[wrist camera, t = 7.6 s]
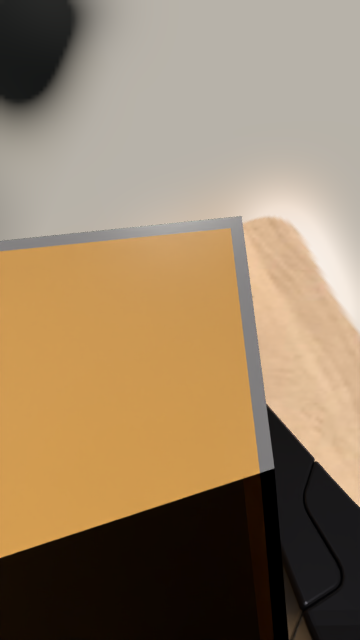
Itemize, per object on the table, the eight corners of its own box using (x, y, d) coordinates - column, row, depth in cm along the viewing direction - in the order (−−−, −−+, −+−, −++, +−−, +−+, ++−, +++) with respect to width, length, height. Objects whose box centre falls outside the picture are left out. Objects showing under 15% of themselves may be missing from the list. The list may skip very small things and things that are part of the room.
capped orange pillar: (218, 465, 13) (364, 1164, 1) (115, 471, 14) (-548, 1095, 2) (209, 360, 15) (241, 216, 2) (113, 367, 15) (-284, 270, 3)
